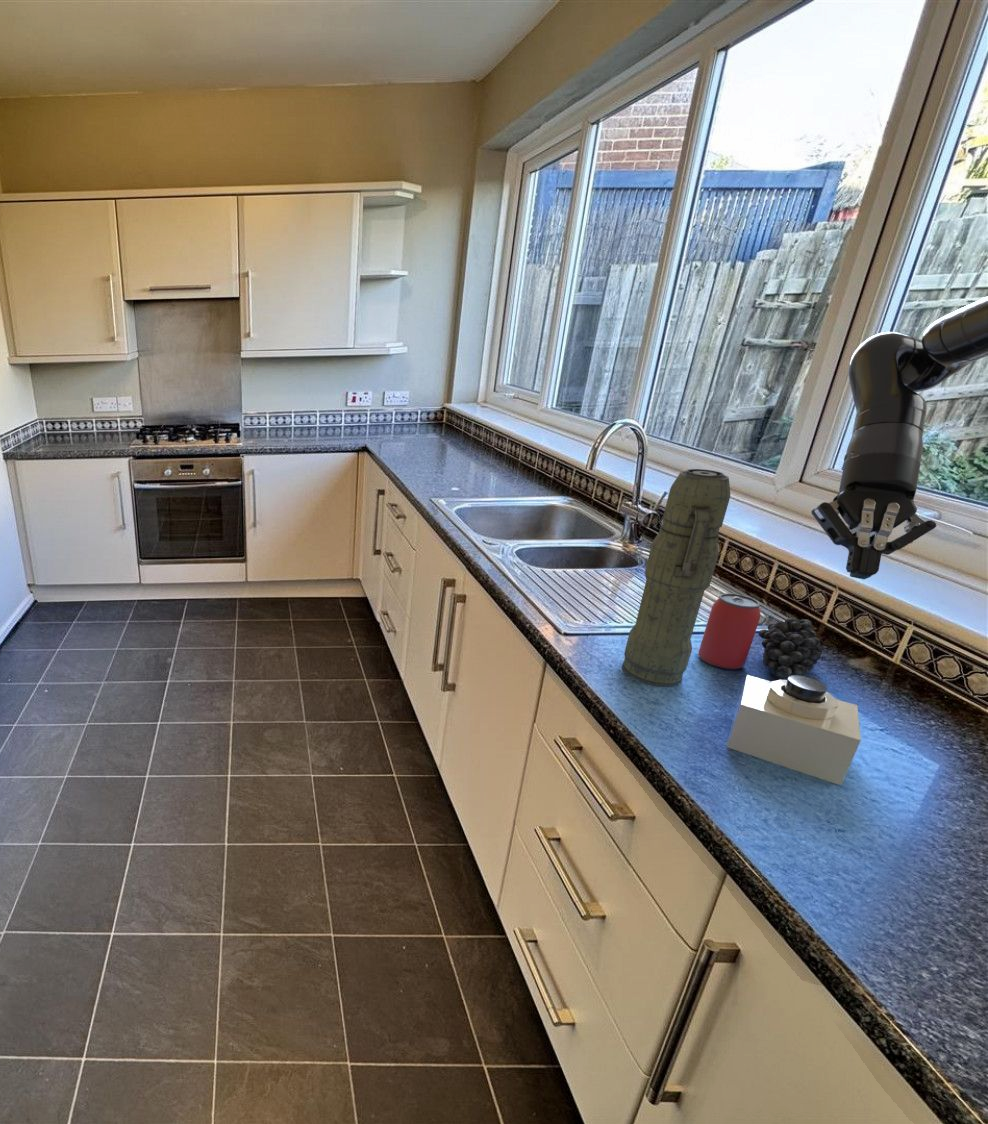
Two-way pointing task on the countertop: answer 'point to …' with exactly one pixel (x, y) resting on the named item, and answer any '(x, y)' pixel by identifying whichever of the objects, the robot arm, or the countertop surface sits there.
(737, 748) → the push button housing
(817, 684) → the black push button
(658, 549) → the thermos
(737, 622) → the beer can
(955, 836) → the countertop surface
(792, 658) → the fruit
